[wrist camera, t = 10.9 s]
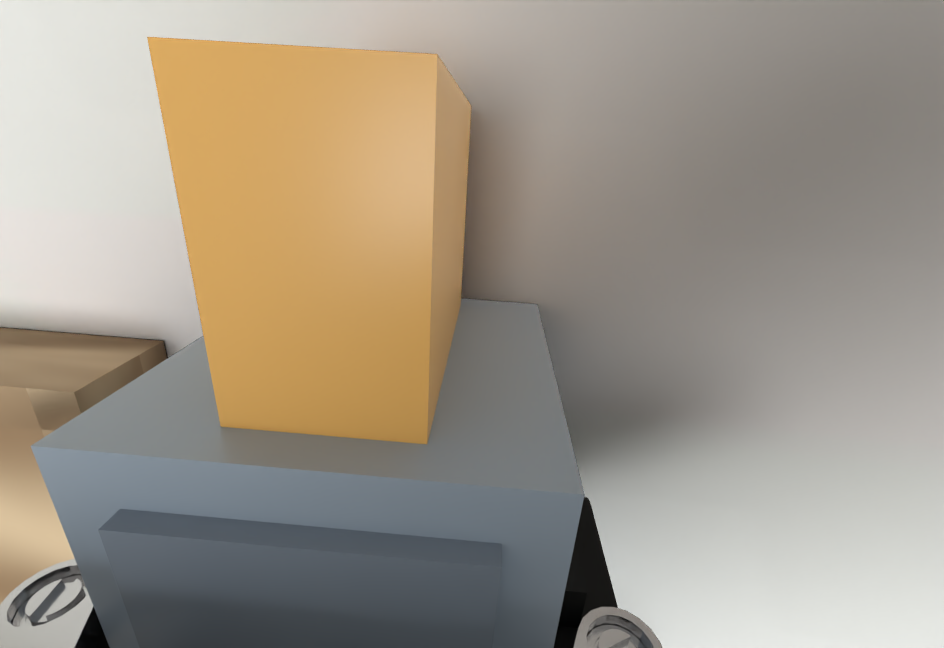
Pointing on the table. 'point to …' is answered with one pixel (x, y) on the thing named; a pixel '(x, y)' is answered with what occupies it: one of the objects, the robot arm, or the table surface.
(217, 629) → the blue orange-capped square bottle
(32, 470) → the tray
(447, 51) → the table surface
